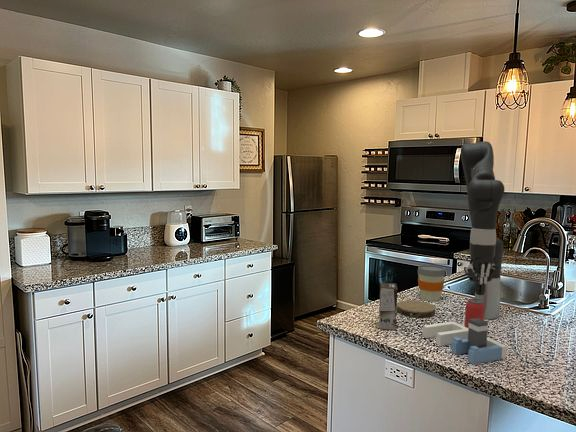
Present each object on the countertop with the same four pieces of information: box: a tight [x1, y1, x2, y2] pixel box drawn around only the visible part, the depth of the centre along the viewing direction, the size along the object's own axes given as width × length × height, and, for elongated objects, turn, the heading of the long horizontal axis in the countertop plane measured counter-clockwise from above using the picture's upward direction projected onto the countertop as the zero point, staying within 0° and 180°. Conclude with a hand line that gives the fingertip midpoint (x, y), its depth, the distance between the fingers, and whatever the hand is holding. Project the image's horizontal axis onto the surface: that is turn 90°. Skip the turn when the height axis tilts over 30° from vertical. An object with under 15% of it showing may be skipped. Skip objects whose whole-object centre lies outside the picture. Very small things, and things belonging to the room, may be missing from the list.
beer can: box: [464, 297, 485, 328], centre depth 162 cm, size 7×7×12 cm
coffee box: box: [378, 282, 398, 331], centre depth 167 cm, size 9×6×16 cm
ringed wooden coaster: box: [396, 299, 436, 319], centre depth 184 cm, size 16×16×3 cm
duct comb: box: [422, 320, 508, 365], centre depth 148 cm, size 14×24×5 cm, turn 21°
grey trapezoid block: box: [466, 318, 489, 355], centre depth 140 cm, size 4×4×12 cm
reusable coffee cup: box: [417, 264, 446, 302], centre depth 203 cm, size 13×13×15 cm
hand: (479, 294), depth 139 cm, fingers closed
